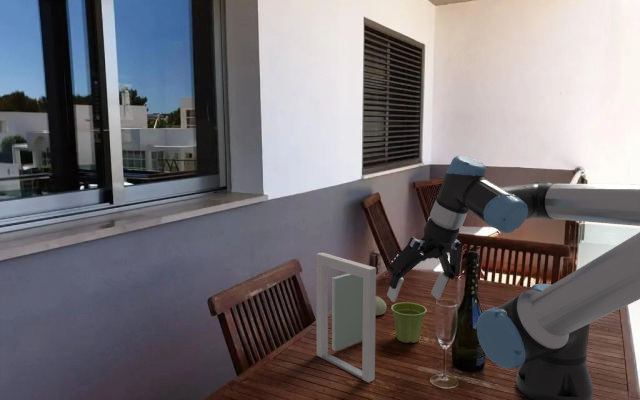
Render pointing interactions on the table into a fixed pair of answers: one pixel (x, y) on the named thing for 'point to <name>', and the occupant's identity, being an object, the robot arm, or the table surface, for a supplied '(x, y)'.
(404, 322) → the plant pot
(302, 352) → the table surface
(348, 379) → the table surface
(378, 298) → the sea urchin shell
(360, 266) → the door frame
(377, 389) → the table surface
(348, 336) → the door
